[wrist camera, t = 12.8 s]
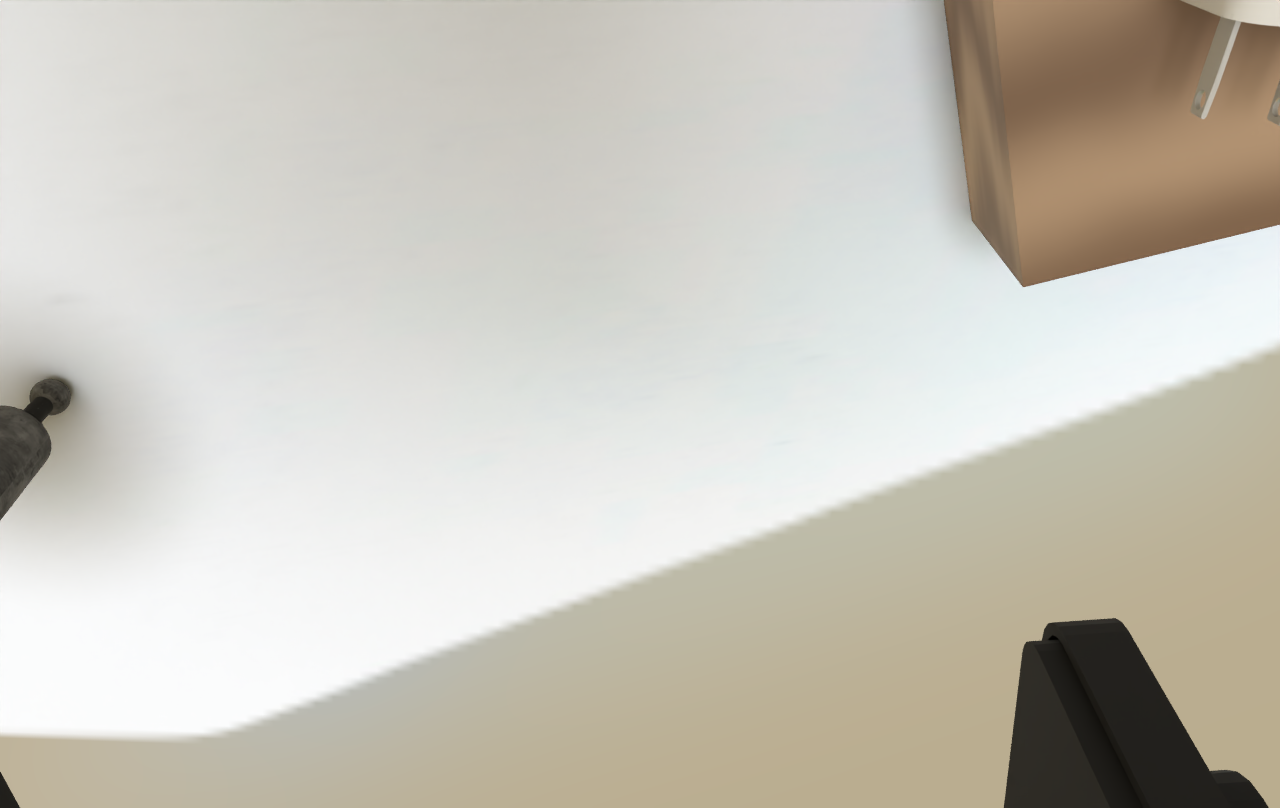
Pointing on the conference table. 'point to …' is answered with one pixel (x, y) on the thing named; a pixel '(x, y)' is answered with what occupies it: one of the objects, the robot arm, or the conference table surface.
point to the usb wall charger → (1231, 45)
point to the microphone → (27, 439)
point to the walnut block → (1109, 130)
